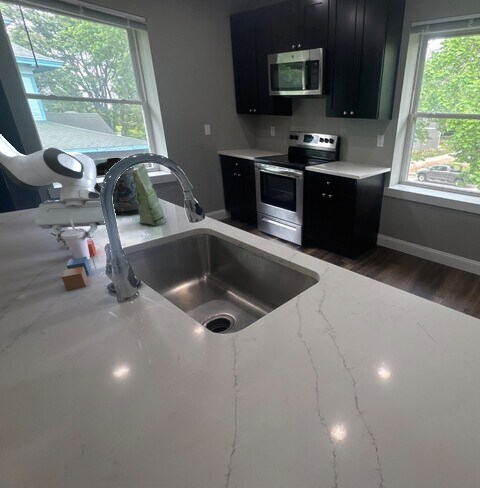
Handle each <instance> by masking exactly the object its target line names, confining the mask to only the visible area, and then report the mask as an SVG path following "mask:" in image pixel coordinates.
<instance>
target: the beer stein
mask: <svg viewBox="0 0 480 488" xmlns="http://www.w3.org/2000/svg"><path fill="white" fill-rule="evenodd" d="M120 160H122V158H120V157H108V158H106V160H105V161H104V162H99V163H96V164H95V166H96V178H97V177H102V176H106V173H107V172H108V171H109V169H110V168H111V167H112V166H113V165H114V164H115V163H117V162H118V161H120ZM134 170H135V168H134V166H133V167H132V168H129V169H128V170H126V171H125V172H124V173H123V174H122V175H121V176H120V178H119V179H118V181H117V183H116V185H115V189H114V193H113V204H114V209H115V213H116V215H115V217H117V216H118V217H127V216H135V215H139V210H138V209H139V207H140V205H139V201H138V200H137V192H136V185H135V181H134V178H133V172H134ZM101 188H102V186H100V185H99V183H98V182H97V181H96V185H95V187H94V190H95V191H96V192H97V193H100V190H101Z"/></svg>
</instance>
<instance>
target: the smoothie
mask: <svg viewBox="0 0 480 488" xmlns="http://www.w3.org/2000/svg"><path fill="white" fill-rule="evenodd" d="M70 223H71V225H72V227H71V229H72V230H68V231H67V230H64V231H65V232H63V233H61V238H63V239H64V240H65V242H66V243H65V244H66V247H67V246H68V247H69V249H68V250H69V252H70V254H71V255H72V256H73V259H75V258H81V257H87V259H88V260H90V259H91V256H89V250H88V244H87V240H88V238H86V237H85V232H86V231H87V230H86V229H85V228H76V227H74V224H73V221H72V219H70Z"/></svg>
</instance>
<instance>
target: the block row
mask: <svg viewBox="0 0 480 488" xmlns="http://www.w3.org/2000/svg"><path fill="white" fill-rule="evenodd" d="M87 244H88V250H89V256H90V257H94V256H96V252H97V249H96V246H95V242H94V239H93V238H89V239H87ZM91 270H92V268H91V265H90V262H89V259H87V257H81V258H69V259H68V261H67V263H66V269H64V270H63V272H62V275H61V279H62V282H63V284H64V287H65V289H66V291H70V290H75V289H80V288H86V287H87V284H88V281H89V278H88V276H90V274H91Z"/></svg>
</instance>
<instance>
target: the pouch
mask: <svg viewBox="0 0 480 488" xmlns="http://www.w3.org/2000/svg"><path fill="white" fill-rule="evenodd" d="M133 178H134V181H135V185H136V192H137V200H138V201H139V205H140V207H139V209H138V210H139V214H138V216H139V224H145V225H146V224H147V225H152V226H154V227H157V226H160V225H163V224H164V223H166V221H167V218H166V215H165V213H164V210H163V208H162V205H161V203H160V199H159V196H158V194H157V192H156V191H155V188H154V185H153V183H152V182H151V178H150V176H149V172H148V169H147V168H146V165H145V164H144V163H142V165H141V166H138V168H135V169H134V172H133Z"/></svg>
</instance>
